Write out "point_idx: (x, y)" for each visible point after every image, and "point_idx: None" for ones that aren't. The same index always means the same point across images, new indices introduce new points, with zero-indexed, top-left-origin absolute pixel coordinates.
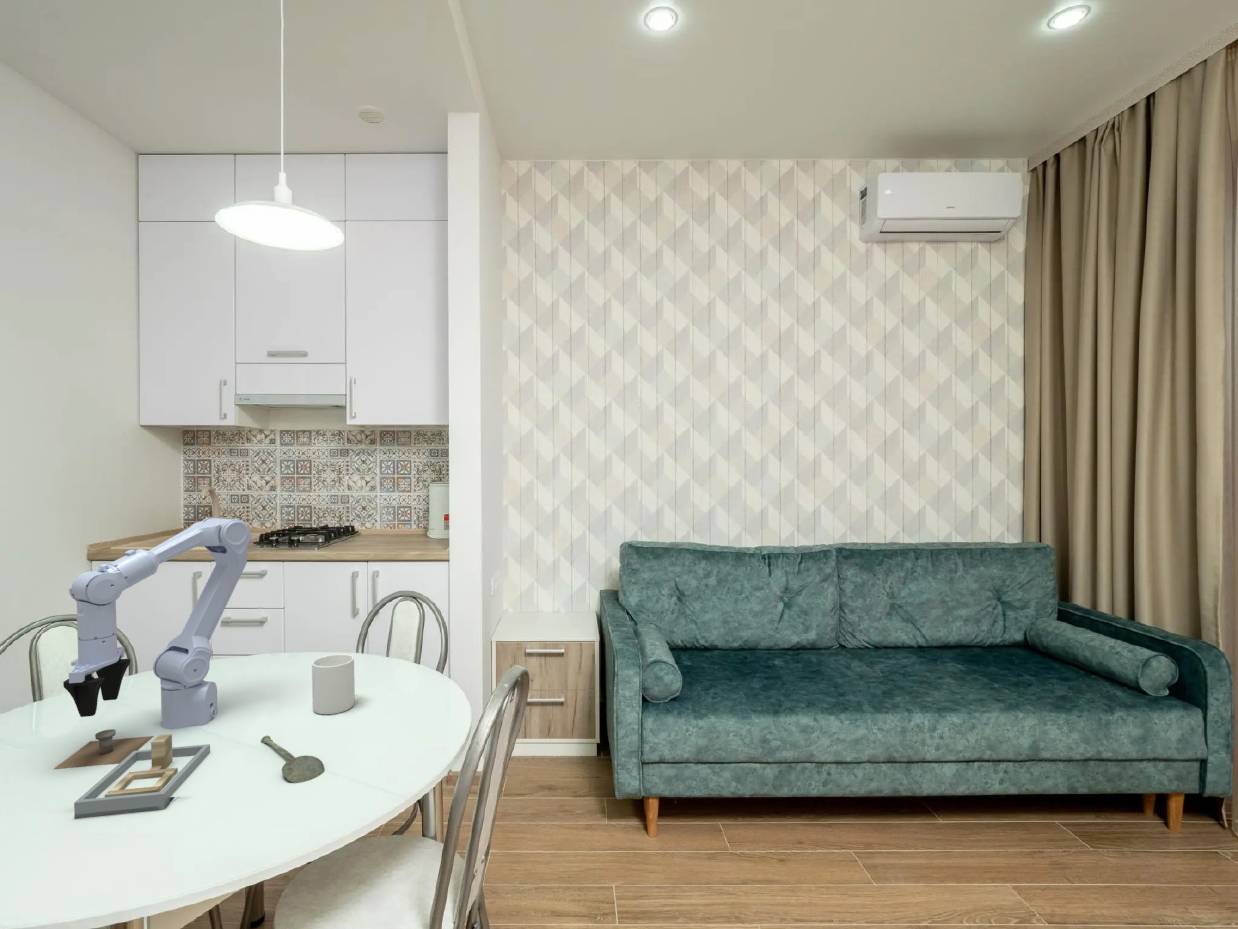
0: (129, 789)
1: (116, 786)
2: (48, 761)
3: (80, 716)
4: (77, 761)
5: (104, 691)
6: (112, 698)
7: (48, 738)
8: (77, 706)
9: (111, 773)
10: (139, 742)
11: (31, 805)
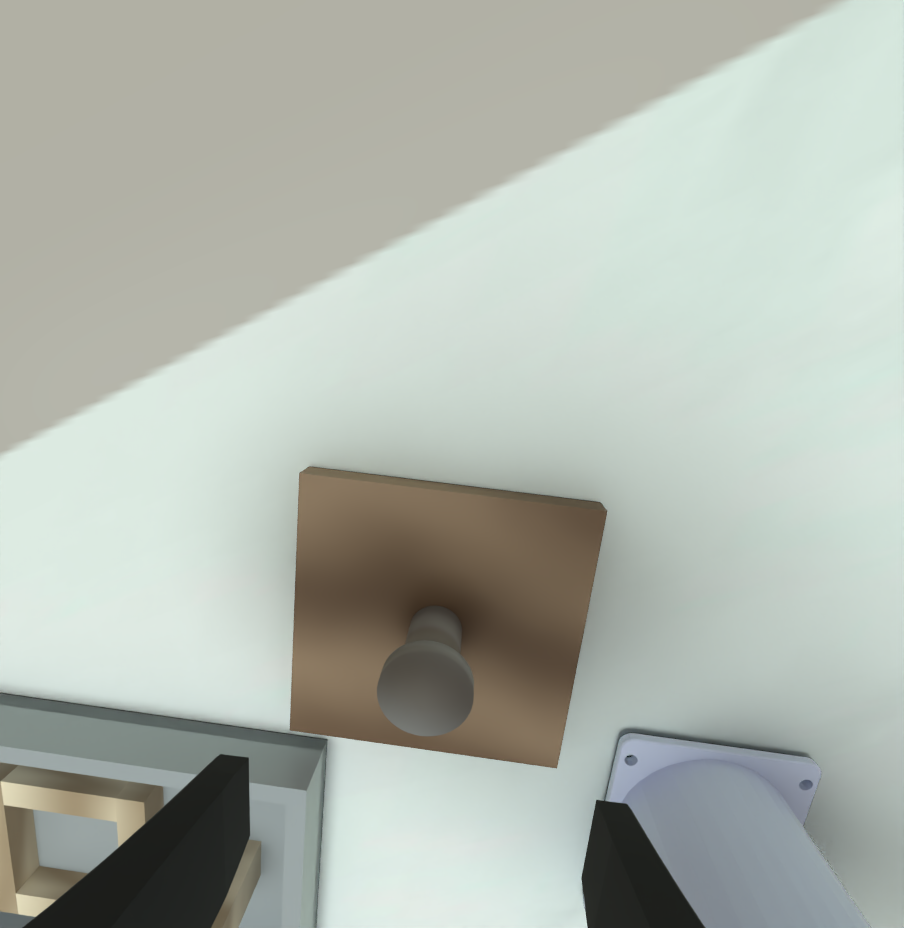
0: (4, 837)
1: (30, 794)
2: (478, 373)
3: (215, 758)
4: (357, 547)
5: (626, 906)
6: (591, 873)
7: (843, 213)
8: (122, 848)
9: (93, 773)
10: (499, 732)
11: (50, 504)
